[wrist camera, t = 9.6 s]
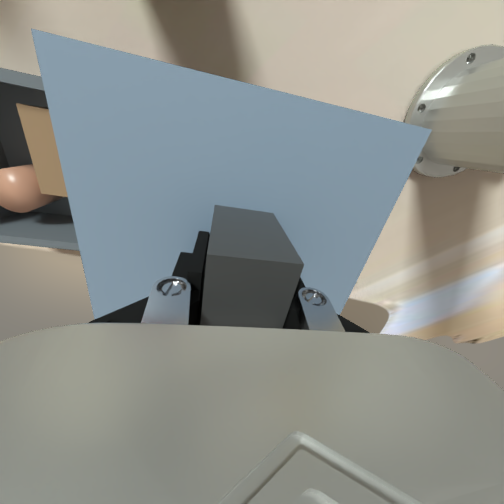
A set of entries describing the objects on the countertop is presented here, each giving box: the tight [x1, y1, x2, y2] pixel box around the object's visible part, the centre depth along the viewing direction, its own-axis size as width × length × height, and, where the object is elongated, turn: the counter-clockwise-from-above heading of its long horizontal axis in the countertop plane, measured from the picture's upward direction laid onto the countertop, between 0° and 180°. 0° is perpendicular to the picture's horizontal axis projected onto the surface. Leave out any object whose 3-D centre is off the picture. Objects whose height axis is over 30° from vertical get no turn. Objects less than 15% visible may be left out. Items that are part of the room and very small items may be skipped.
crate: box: [0, 68, 80, 251], centre depth 21 cm, size 14×14×7 cm
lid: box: [31, 29, 432, 329], centre depth 11 cm, size 16×16×8 cm
